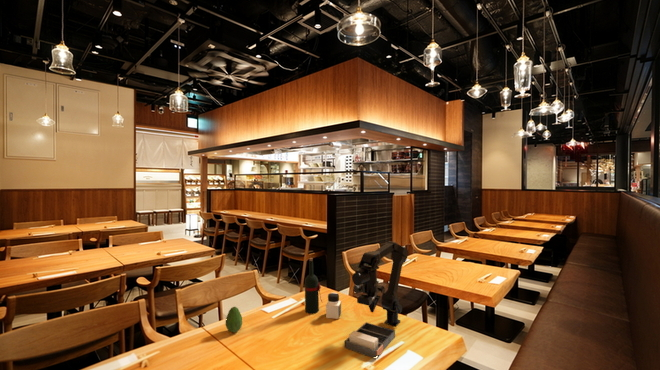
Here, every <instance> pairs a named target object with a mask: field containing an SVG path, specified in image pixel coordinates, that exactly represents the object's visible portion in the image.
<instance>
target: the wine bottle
mask: <svg viewBox="0 0 660 370" xmlns="http://www.w3.org/2000/svg"><path fill="white" fill-rule="evenodd" d="M313 259H314V258H313V257H310V258H309V260H308V264H309V265H308V269H309V271H308V275H307V276H306V277H305V278H304V311H305V313H306V314H311V315H312V314H313V313H315V314H317V313H319V311H320V301H321V302H323V300H322V297H321V295H320V294H319V293H321V291H320V290H321V288H322V287H321V283H320V282H319V279H318V276H317V275H315V274H314V260H313ZM319 298H320V300H319ZM313 315H314V314H313Z"/></svg>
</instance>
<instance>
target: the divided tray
mask: <svg viewBox="0 0 660 370" xmlns="http://www.w3.org/2000/svg"><path fill="white" fill-rule="evenodd" d="M355 331H356V332H360V333H363V334H366V335H369V336H372V337H375V338H378V348H377V349H376V350H372V349H369V348H366V347H363V346H360V345H357V344H355V343H352V342H349V336H348V338H346V339H345V340H344V341H343V342H344V349H348V350H350V351H353V352H355V353H358V354H361V355H363V356H365V357H370V358H372V359H374V358H373V357H376V356H378V355H379V354H380V355H381V354H382V353H383V352H384V351H385V350H386V348H387V347H388V346H389V345H390V344H391V343H392V342H393V340H394V339H395V338H396V330H395V329H391V328H386V327H383V326H381V325H377V324H374V323H370V322H367V321H366V322H364V323H363V324H362V325H361V326H360V327H359V328H358V329H356V330H355Z"/></svg>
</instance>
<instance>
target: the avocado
mask: <svg viewBox="0 0 660 370" xmlns="http://www.w3.org/2000/svg"><path fill="white" fill-rule="evenodd" d="M226 319H227V320H226ZM242 325H243V316H242V314H241V311H240V310H239V308H238V307H237V306H232V307H231V308H230V309H229V310H228V313H227V314H226V318H225V326H226V327H225V328H226V329H227V331H229V332H231V333H237V332H239V331H240V329H241V328H242Z"/></svg>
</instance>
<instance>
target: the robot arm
mask: <svg viewBox="0 0 660 370" xmlns="http://www.w3.org/2000/svg"><path fill="white" fill-rule="evenodd" d="M389 254H391V255H390V257H391V260H392V266H391V270H390V275H389V280H388V286H387V290H386V288H385V286H384V285H380V283H379V282H380V281H378V270H379V269H380V267H379V266H378V265H379V264H380V263H381V260H382V259H383V258H384V257H386V256H387V255H389ZM408 256H409V250H408V249H407V247H404V246H402V245H400V244H398V243H397V242H396V241H387V242H386V243H385V244H383V245H381V246H380V247H379V248H376V249H375V250H372V251H371V250H370V251H367V252H364V253H363V254H362V256H361V259H360V262H359V264H358V266H357V268H358V269H355V270H354V271H355V272H354V273H353V274H352V276H351V278H352V280H351V281H352V283H353V284H354V285H353V290H352V291H353V292H354V293H356V294H359V293H362V294H361V295H359V296H358V297H357V298H356V301H357V302H356V303H357V304H360V305H365V306H368V308H369V310H370V312H371V313H374V312H375V309H376V308H377V305H378V302H379V301H380V302H381V306H382V309H383V310H385V311H386V320H385V321H384V322H383V323H384V324H386V325H389V326H394V327H397V326H398V325H399V324H400V322H401V320H400V319H399V315H400V314H401V312H403V307H402V305H401V304H400V302H399V301H400V297H399V295H398V289H399V283H400V279H401V275H402V274H401V273H402V268H403V265H404V263H406V262H407V259H408ZM379 292H381V294H382V296H380V295H378V294H379ZM380 298H381V299H380Z"/></svg>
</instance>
